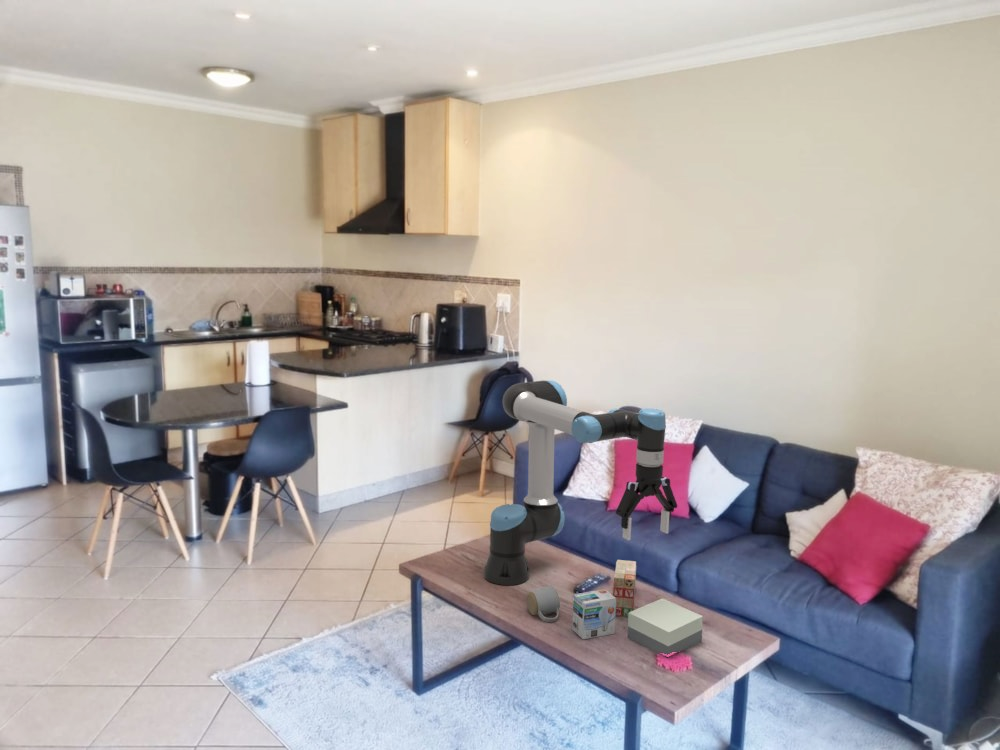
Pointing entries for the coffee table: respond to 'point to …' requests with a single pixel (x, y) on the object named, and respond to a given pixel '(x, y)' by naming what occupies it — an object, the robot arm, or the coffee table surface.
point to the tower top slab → (665, 621)
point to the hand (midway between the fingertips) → (645, 535)
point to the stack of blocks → (624, 587)
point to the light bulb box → (594, 614)
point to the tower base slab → (660, 646)
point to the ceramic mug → (544, 602)
